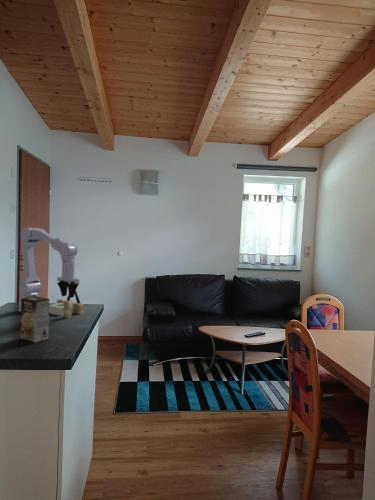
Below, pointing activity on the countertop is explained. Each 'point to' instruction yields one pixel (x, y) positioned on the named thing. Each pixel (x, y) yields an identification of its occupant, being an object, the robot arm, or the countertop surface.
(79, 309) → the oak wall
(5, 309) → the countertop surface
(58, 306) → the socket block
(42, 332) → the coffee box
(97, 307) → the countertop surface
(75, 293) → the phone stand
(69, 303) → the dowel
